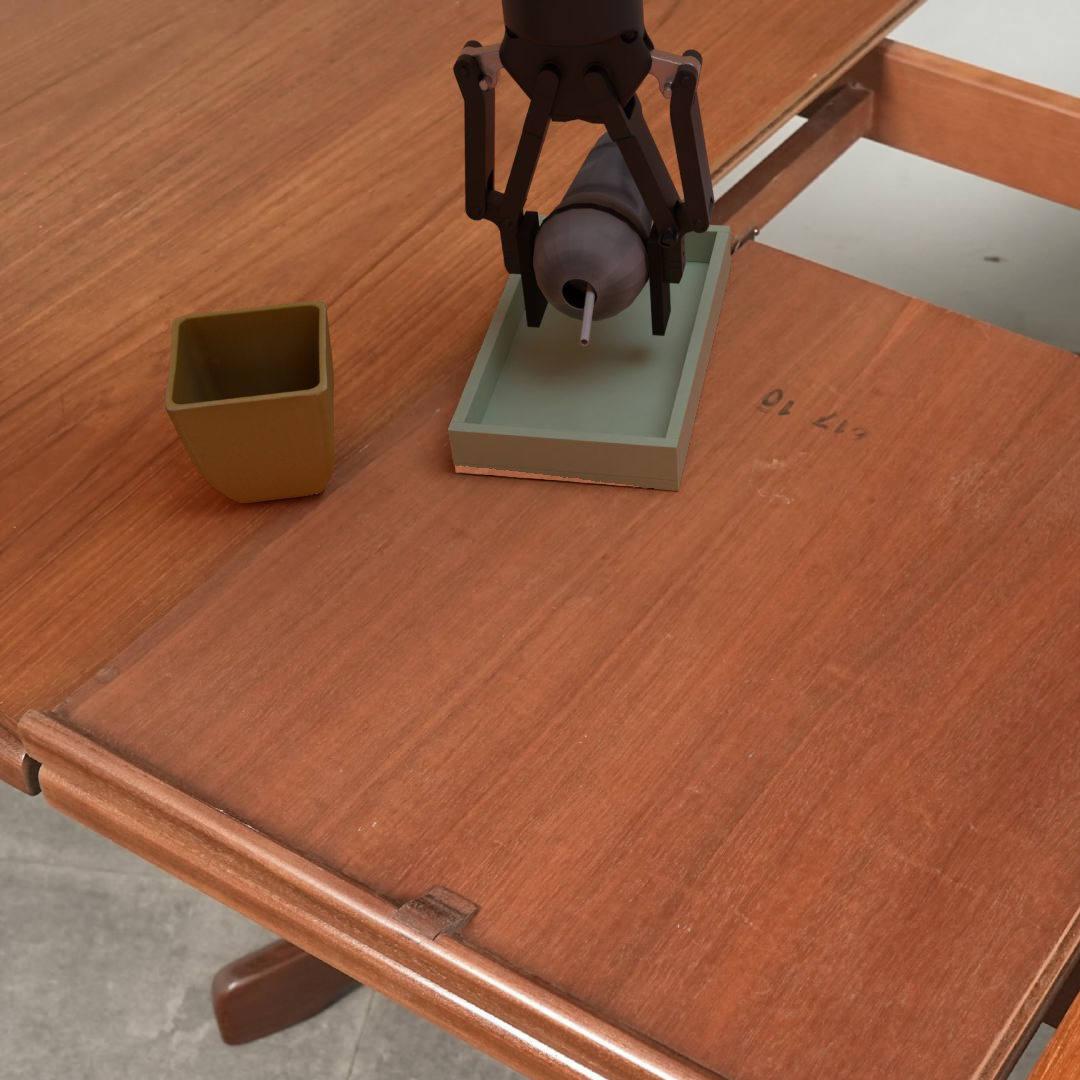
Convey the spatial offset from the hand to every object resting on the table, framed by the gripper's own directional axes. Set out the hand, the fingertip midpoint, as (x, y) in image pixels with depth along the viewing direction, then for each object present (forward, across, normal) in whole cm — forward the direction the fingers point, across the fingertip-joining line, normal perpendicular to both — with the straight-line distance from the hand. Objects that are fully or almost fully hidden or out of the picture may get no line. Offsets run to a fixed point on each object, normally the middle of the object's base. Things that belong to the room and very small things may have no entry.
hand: (599, 318), depth 97 cm
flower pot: (+4, +17, +13) cm, 22 cm away
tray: (+3, 0, 0) cm, 3 cm away
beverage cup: (-5, 0, -11) cm, 12 cm away
